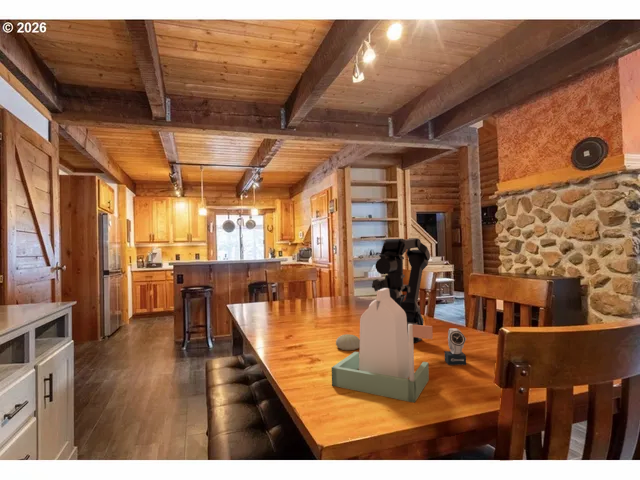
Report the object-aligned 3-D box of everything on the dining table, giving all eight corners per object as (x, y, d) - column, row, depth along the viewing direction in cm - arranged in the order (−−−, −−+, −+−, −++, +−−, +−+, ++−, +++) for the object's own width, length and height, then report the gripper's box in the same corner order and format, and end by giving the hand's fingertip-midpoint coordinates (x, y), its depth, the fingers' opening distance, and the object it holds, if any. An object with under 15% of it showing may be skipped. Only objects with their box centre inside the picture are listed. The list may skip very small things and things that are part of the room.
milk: (398, 389, 93) (395, 293, 93) (358, 381, 99) (356, 290, 99) (410, 374, 103) (408, 287, 103) (374, 368, 109) (372, 286, 109)
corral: (355, 367, 110) (353, 307, 111) (445, 382, 97) (443, 314, 97) (331, 385, 96) (330, 317, 97) (433, 406, 83) (431, 327, 83)
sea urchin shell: (361, 347, 126) (346, 330, 127) (347, 361, 127) (331, 345, 128) (363, 340, 135) (349, 325, 136) (350, 353, 136) (335, 339, 137)
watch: (450, 367, 109) (449, 332, 109) (443, 358, 117) (442, 326, 117) (468, 367, 108) (467, 332, 108) (460, 358, 116) (459, 326, 116)
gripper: (382, 270, 140) (383, 308, 140) (365, 273, 124) (366, 317, 124) (410, 270, 135) (410, 310, 135) (395, 274, 119) (396, 320, 119)
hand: (396, 314), depth 128 cm, fingers closed
